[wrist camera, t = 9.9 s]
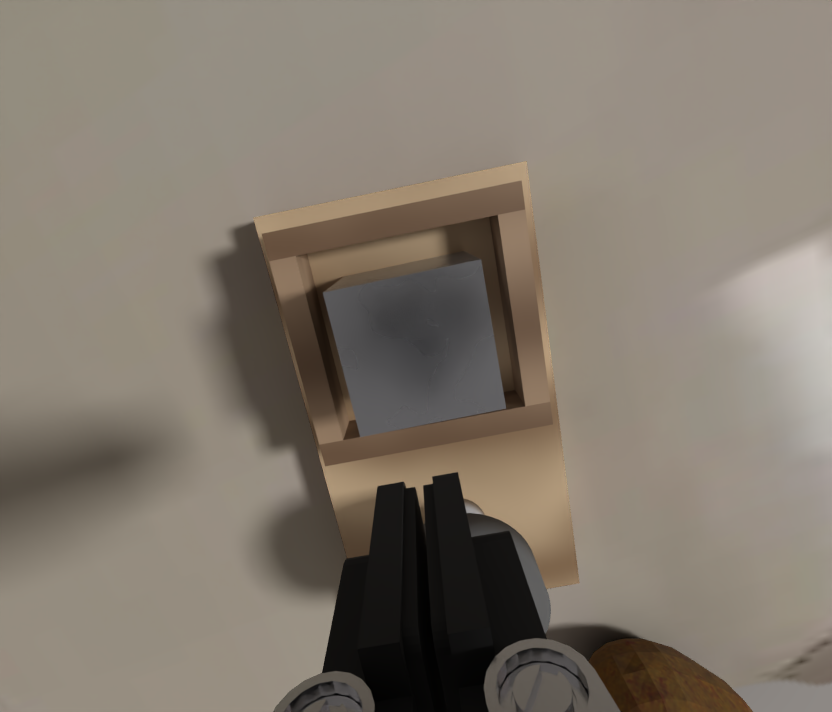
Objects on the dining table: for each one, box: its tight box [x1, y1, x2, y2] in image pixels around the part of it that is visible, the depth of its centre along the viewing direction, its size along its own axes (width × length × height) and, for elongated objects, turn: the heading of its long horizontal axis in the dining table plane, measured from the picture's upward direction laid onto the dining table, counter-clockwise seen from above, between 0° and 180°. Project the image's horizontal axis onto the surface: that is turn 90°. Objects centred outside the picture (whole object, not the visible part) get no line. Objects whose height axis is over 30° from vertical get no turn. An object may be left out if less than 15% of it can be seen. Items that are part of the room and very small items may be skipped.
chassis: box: [254, 161, 579, 589], centre depth 21 cm, size 20×11×4 cm, turn 11°
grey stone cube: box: [323, 251, 506, 437], centre depth 18 cm, size 5×5×5 cm
